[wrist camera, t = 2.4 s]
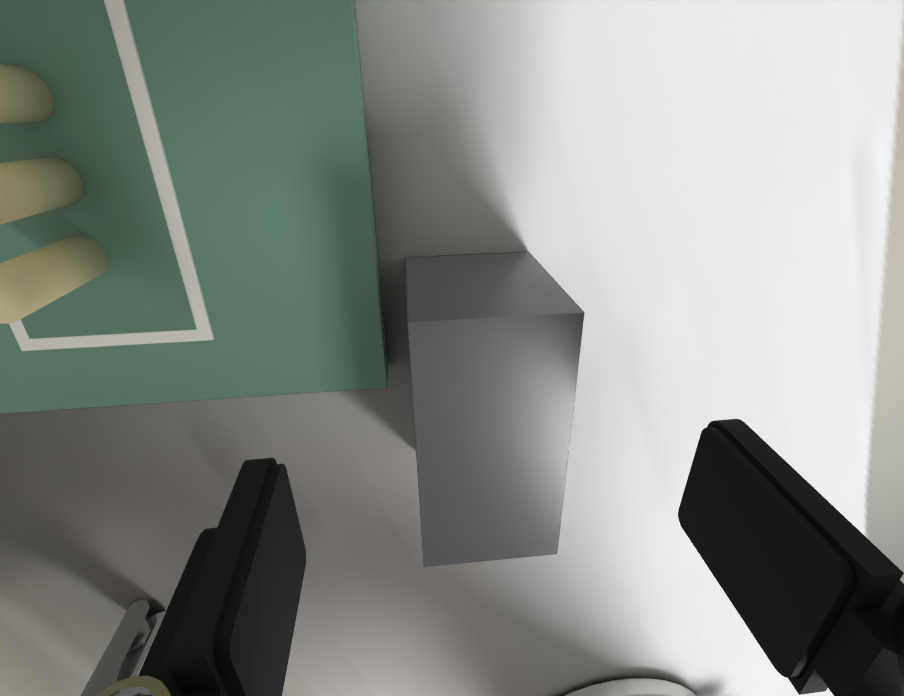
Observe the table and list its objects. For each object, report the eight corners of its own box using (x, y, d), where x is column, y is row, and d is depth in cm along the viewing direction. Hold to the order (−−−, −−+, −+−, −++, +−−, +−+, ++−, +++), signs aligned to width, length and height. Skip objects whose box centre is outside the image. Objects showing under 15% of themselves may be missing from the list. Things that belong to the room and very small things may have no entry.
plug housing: (528, 251, 16) (584, 312, 11) (518, 444, 20) (557, 553, 15) (405, 257, 16) (407, 322, 11) (417, 452, 20) (423, 566, 15)
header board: (341, -146, 11) (304, -308, 7) (387, 366, 18) (383, 452, 13) (-418, -161, 10) (-1054, -372, 6) (-80, 396, 16) (-258, 502, 12)
